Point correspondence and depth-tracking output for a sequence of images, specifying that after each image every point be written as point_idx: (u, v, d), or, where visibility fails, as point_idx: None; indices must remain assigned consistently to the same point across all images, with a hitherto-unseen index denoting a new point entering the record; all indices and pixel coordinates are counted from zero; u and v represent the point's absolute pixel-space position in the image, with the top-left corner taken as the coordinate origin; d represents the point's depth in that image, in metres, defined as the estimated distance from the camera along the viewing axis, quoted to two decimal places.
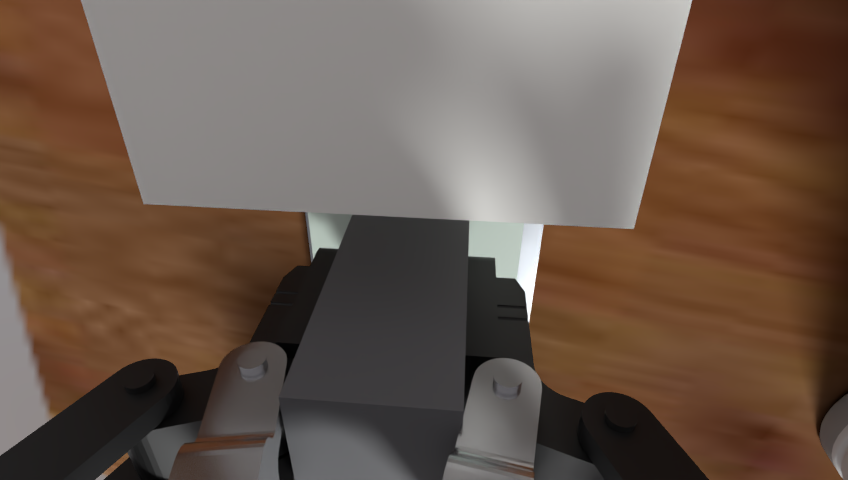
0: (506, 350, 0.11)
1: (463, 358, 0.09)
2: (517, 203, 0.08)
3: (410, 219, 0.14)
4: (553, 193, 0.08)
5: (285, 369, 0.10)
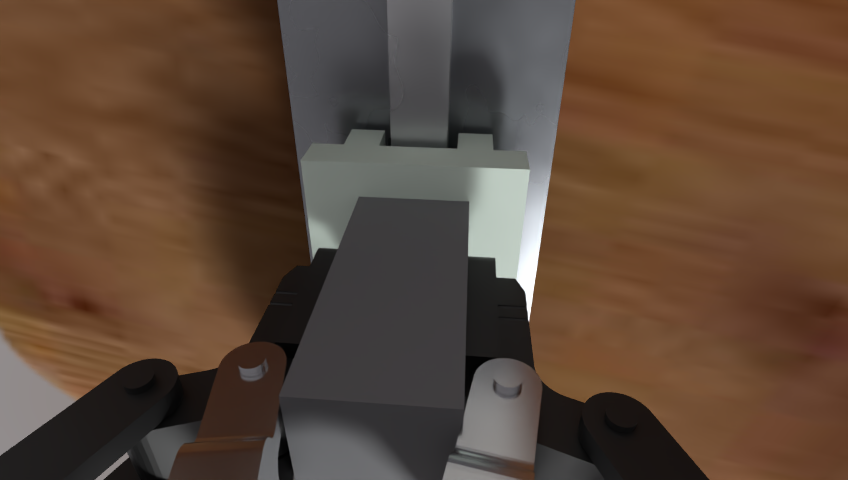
0: (506, 350, 0.11)
1: (463, 356, 0.09)
2: None
3: (409, 218, 0.14)
4: None
5: (285, 369, 0.10)
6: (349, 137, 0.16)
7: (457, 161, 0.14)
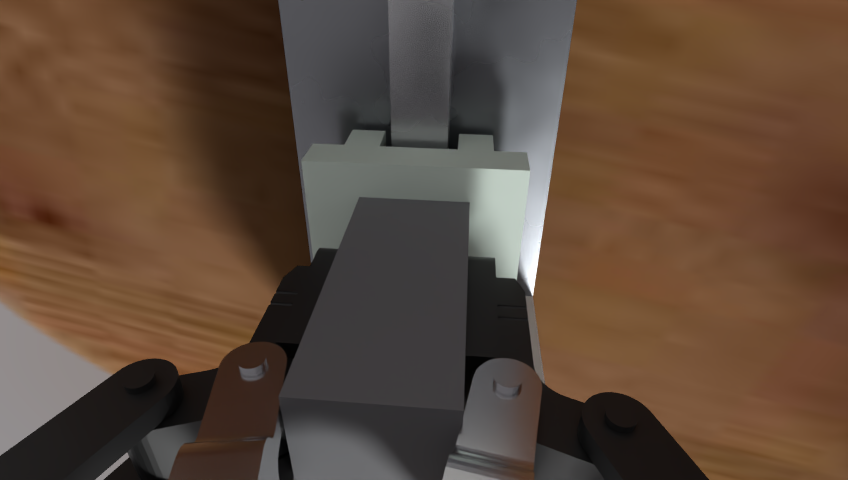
0: (506, 350, 0.11)
1: (463, 357, 0.09)
2: None
3: (410, 219, 0.14)
4: None
5: (285, 369, 0.10)
6: (350, 137, 0.16)
7: (457, 161, 0.14)
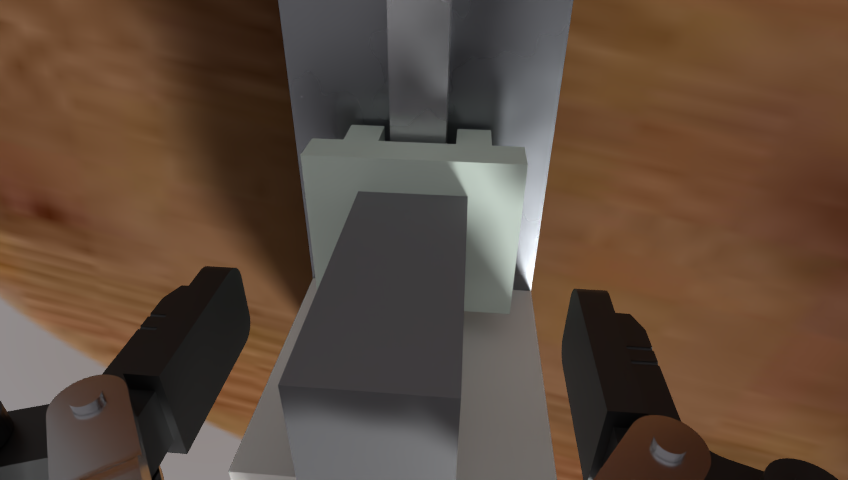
0: (644, 401, 0.10)
1: (461, 347, 0.10)
2: None
3: (408, 213, 0.14)
4: None
5: (122, 405, 0.09)
6: (349, 132, 0.16)
7: (456, 156, 0.14)
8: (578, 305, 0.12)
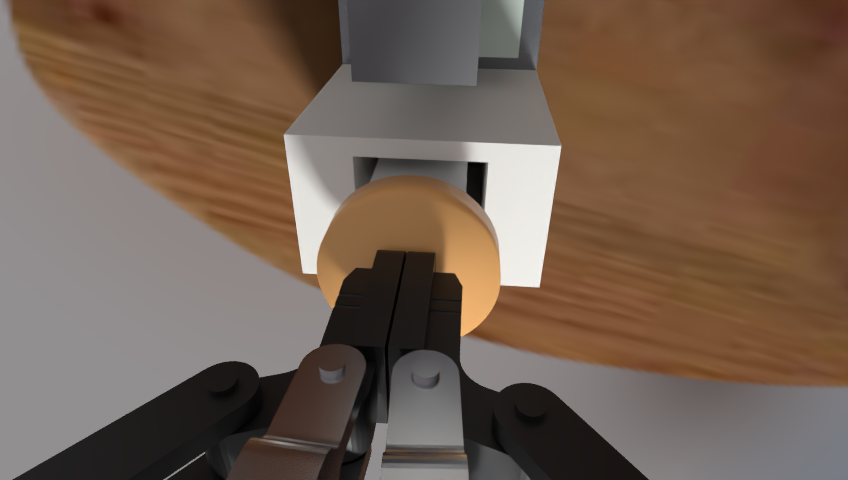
0: (435, 343, 0.11)
1: None
2: None
3: None
4: None
5: (365, 372, 0.10)
6: None
7: None
8: None
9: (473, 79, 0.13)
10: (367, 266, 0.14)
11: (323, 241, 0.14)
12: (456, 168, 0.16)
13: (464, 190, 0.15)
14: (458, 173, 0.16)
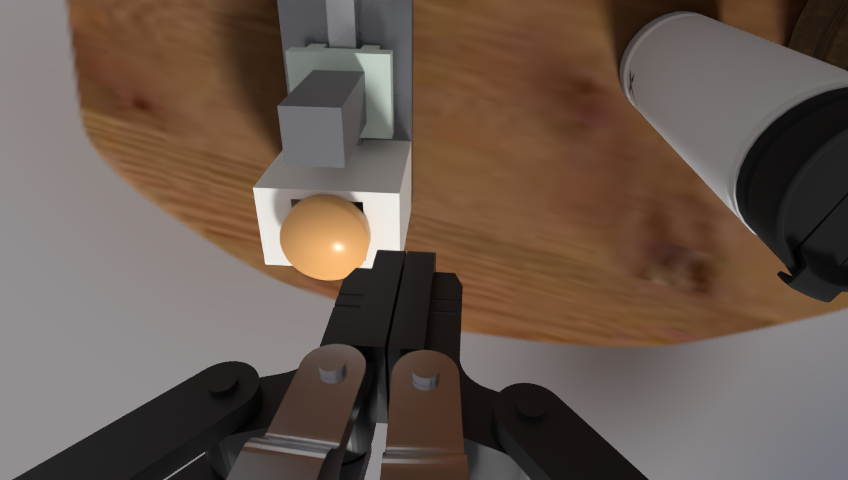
0: (435, 343, 0.11)
1: (345, 100, 0.26)
2: None
3: (335, 75, 0.30)
4: None
5: (365, 372, 0.10)
6: (309, 45, 0.32)
7: (358, 52, 0.31)
8: None
9: (343, 165, 0.26)
10: (304, 238, 0.29)
11: (282, 225, 0.29)
12: None
13: None
14: None
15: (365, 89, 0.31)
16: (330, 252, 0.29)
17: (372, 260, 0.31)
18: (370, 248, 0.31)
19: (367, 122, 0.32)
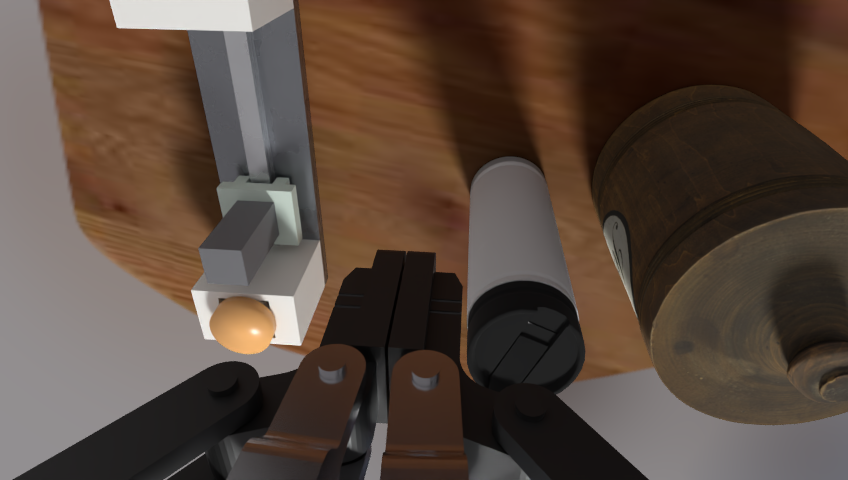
0: (435, 343, 0.11)
1: (246, 241, 0.37)
2: (219, 24, 0.30)
3: (250, 207, 0.42)
4: (228, 20, 0.30)
5: (365, 372, 0.10)
6: (236, 179, 0.43)
7: (269, 188, 0.42)
8: None
9: (246, 284, 0.38)
10: (226, 327, 0.41)
11: (210, 319, 0.40)
12: None
13: None
14: None
15: (275, 213, 0.43)
16: (245, 336, 0.41)
17: (280, 338, 0.43)
18: (277, 330, 0.42)
19: (279, 234, 0.44)
